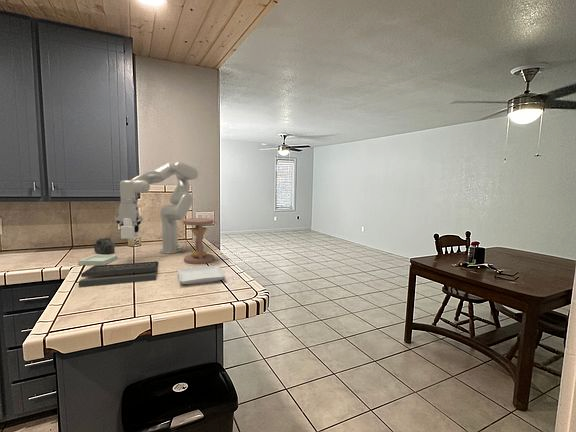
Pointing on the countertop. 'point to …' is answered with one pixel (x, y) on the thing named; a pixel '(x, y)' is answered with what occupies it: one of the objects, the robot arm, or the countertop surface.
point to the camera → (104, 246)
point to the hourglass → (198, 241)
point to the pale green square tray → (97, 260)
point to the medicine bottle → (128, 229)
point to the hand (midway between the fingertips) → (129, 231)
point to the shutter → (119, 270)
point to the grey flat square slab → (200, 274)
